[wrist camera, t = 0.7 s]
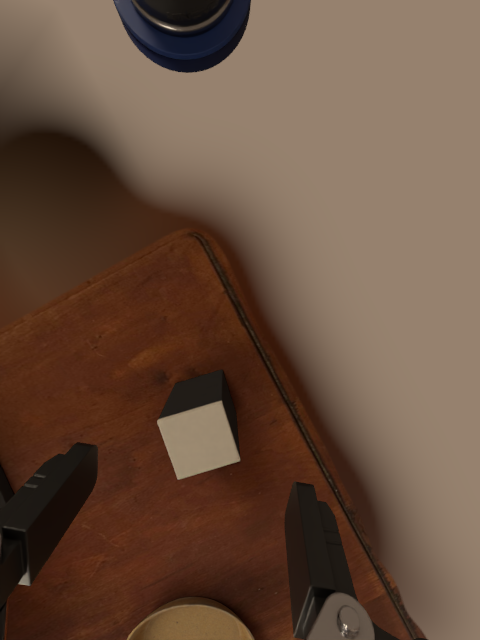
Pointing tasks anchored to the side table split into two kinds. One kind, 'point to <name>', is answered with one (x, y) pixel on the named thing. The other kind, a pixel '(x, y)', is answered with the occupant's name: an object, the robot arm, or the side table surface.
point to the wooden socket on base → (4, 489)
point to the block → (200, 425)
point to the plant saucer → (191, 622)
